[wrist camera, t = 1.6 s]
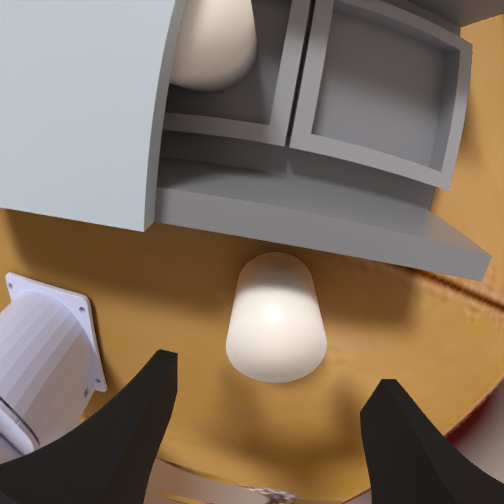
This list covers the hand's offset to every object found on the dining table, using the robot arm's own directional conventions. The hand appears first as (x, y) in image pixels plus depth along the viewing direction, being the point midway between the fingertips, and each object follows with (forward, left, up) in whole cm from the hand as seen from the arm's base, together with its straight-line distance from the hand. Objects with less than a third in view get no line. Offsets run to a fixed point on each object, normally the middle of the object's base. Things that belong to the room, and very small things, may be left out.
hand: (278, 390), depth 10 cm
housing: (+11, +7, -7) cm, 15 cm away
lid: (+11, +13, -1) cm, 17 cm away
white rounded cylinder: (0, 0, -7) cm, 7 cm away
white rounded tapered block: (+11, +5, -7) cm, 14 cm away
